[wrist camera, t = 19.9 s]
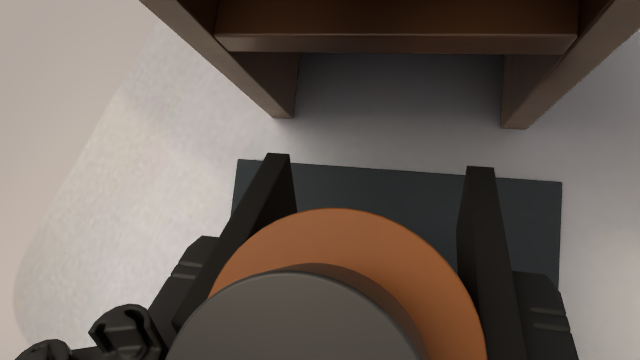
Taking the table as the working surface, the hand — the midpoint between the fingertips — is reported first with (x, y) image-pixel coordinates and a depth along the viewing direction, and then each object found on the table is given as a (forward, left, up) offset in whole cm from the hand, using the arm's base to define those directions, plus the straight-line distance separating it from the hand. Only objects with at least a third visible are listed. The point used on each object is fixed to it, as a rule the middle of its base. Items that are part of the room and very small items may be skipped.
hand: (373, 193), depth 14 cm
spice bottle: (0, -4, -2) cm, 4 cm away
